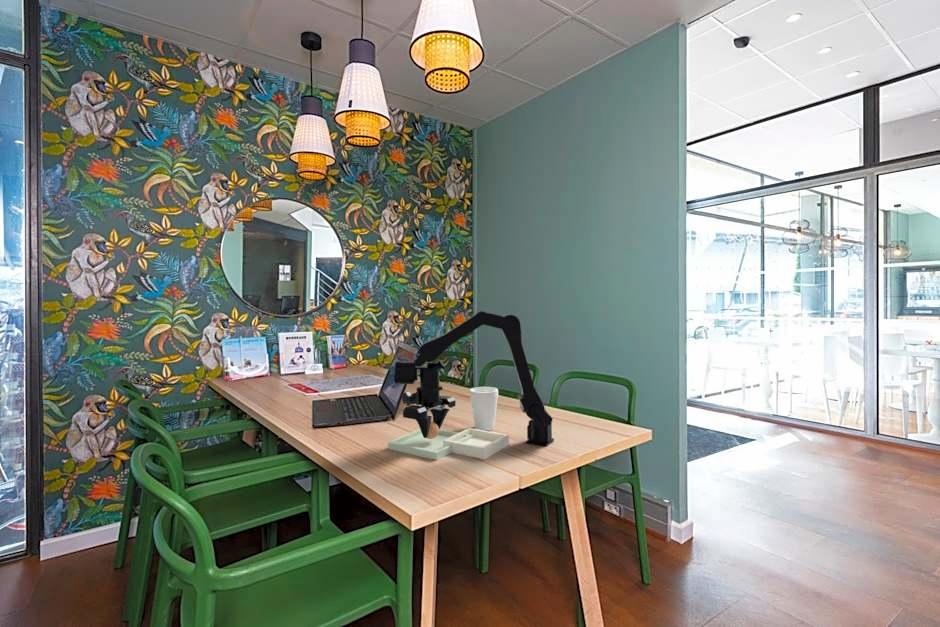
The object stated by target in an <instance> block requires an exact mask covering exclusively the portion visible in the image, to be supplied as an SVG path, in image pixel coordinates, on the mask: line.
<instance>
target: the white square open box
mask: <svg viewBox="0 0 940 627" xmlns="http://www.w3.org/2000/svg"><path fill="white" fill-rule="evenodd" d="M466 434H469V435H472V439H470V440H468V441H466V442H464V443H461V442H456V441H458V440H460V439H462V438H464V437H465V435H466ZM509 438H510V435H509V434H506V433H501V432H494V431H491V430H489V431H484V430H478V429H476V428H470V427H469V428H466V429H464V430H462V431H460V432H458V434H455V435H453V436H451V437H449V438H447V439H445V440H443V448H444V447H446V446H448V445H451V446H452V453H451V454H458V455H462V456H467V457H471V458H477V459H481V460H487V459H488V458H490V457H491V456H493V455H494V454H496V453H498V452H500V451H502V450H503V449H504V448H506V447H508V446H509V445H510V439H509Z"/></svg>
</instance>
